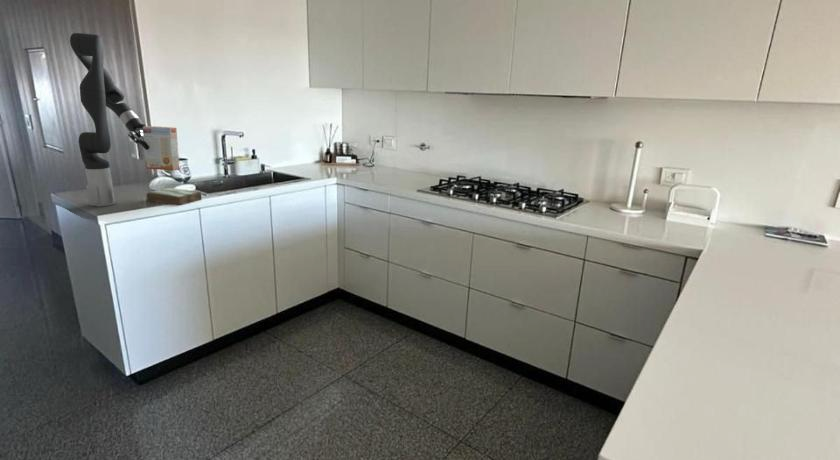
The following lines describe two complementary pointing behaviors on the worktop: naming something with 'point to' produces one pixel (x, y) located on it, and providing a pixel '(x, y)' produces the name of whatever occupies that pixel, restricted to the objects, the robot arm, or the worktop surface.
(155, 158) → the cracker box
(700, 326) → the worktop surface
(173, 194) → the podium
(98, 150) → the robot arm
